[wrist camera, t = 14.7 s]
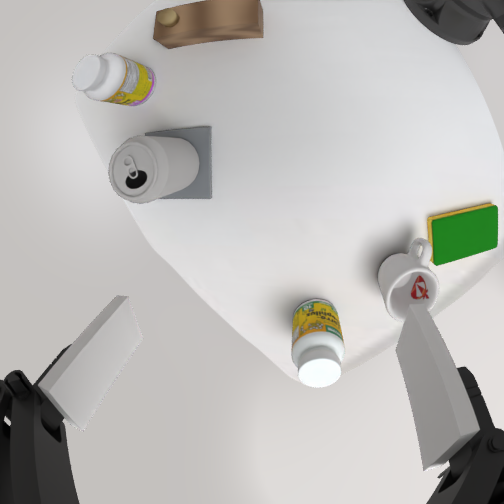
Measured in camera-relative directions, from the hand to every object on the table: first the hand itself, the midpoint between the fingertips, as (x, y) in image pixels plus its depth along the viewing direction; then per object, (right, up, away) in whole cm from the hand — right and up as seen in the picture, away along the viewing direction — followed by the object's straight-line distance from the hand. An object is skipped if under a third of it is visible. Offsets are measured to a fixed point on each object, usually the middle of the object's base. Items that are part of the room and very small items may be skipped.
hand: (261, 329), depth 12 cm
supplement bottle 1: (-17, +29, +22) cm, 40 cm away
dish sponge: (+33, +7, +22) cm, 40 cm away
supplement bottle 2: (+10, -7, +30) cm, 33 cm away
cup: (+22, +2, +25) cm, 33 cm away
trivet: (-11, +16, +25) cm, 32 cm away
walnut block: (-6, +35, +17) cm, 40 cm away
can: (-11, +16, +24) cm, 31 cm away
